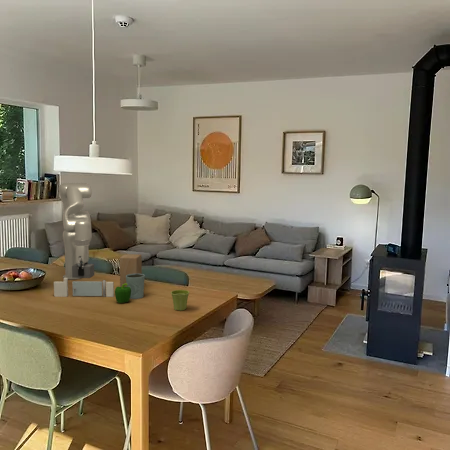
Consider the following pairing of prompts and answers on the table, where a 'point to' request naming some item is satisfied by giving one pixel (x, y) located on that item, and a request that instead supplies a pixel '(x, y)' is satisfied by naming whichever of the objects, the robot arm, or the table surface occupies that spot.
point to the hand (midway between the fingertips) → (83, 273)
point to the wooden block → (129, 266)
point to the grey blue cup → (136, 285)
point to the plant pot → (180, 299)
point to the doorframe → (62, 288)
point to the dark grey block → (87, 271)
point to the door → (87, 288)
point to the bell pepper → (122, 294)
